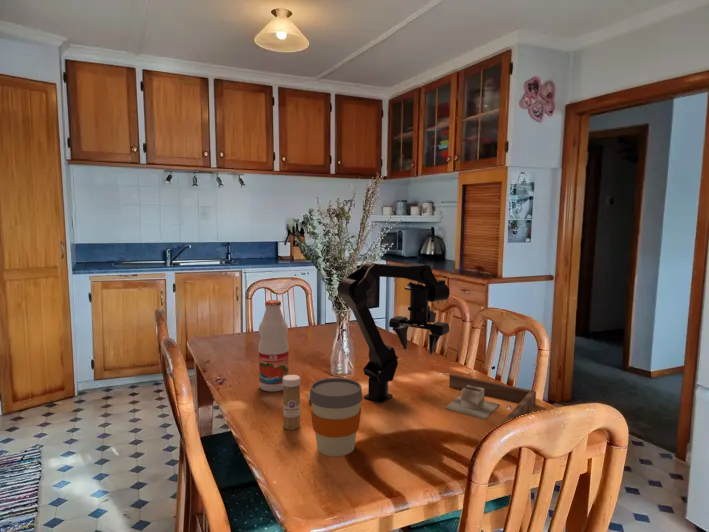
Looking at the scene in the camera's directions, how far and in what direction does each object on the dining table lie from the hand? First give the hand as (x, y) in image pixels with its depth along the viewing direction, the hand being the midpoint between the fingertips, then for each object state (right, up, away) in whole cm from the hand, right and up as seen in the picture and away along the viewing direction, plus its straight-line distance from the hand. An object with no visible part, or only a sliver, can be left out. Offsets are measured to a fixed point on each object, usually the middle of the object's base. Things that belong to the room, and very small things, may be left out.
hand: (418, 351), depth 152 cm
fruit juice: (-46, -12, +2) cm, 48 cm away
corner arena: (+14, -14, -15) cm, 25 cm away
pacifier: (-31, -13, -9) cm, 35 cm away
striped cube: (+14, -13, -13) cm, 23 cm away
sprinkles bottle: (-37, -15, -27) cm, 48 cm away
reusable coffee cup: (-25, -16, -37) cm, 48 cm away
